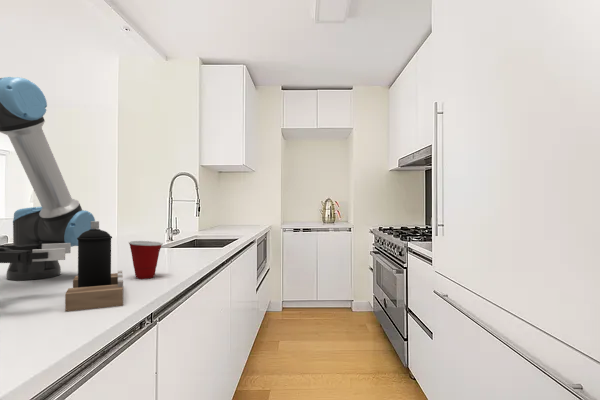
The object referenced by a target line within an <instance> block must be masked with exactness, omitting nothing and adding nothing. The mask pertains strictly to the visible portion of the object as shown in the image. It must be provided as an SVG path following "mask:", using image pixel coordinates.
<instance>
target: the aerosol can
mask: <svg viewBox="0 0 600 400" xmlns="http://www.w3.org/2000/svg"><path fill="white" fill-rule="evenodd" d="M112 239H113V236H112V235H111V234H110V233H109V232H108V231H106V230H102V229H100V221H99V220H98V221H96V220H95V221H91V229H90V230H88V231H85V232H83V233H82V234H81V235H80V236H79V237H78V238H77V240H78V246H77V249H78V250H77V276H78V288H79V287H91V286H103V285H111V274H112Z"/></svg>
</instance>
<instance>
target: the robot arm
mask: <svg viewBox="0 0 600 400" xmlns="http://www.w3.org/2000/svg"><path fill="white" fill-rule="evenodd" d="M47 107H48V102H47V99H46V96H45V94H44V93H43V91H42V89H41V88H40V87H39V86H38V85H37V84H35V83H34V82H33V81H31V80H29V79H27V78H23V77H18V76H17V77H13V76H12V77H11V76H5V77H0V133H1V134H3V135H5V136H7V137H8V138H9V140H10V142H11V145H12V147H13V149H14V152H15V153H16V155H17V158H18V159H19V161H20V164H21V166H22V169H23V170H24V172H25V174H26V176H27V179H28V180H29V183H30V185H31V188H32V189H33V191H34V194H35V196H36V197H37V200H38V202H39V204H40V206H34V207H33V206H32V207H24V208H19V209H17V210H15V211H14V214H13V220H12V237H13V238H12V239H13V240H12V241H13V243H12V244H8V245H7V244H6V245H3V244H0V264H8V268H7V269H6V279H7V280H12V281H29V280H39V279H48V278H52V277H56V276H60V275H61V271H62V270H61V268H62V267H61V265H60V262H59V261H65V260H66V254H71V247H78V240H77V238H78V237H79V236H80V235H81V234H82V233H83V232H85V231H88V230H90V229H91V221H96V218H95V216H94V214H93V213H91V212H90V211H88V210H84V209H82V206H81V203H80V202H79V200H77V199H75V198H73V197H72V196H71V193H70V191H69V189H68V186H67V184H66V181H65V179H64V177H63V175H62V173H61V170H60V168H59V165H58V163H57V160H56V158H55V156H54V153H53V151H52V149H51V147H50V144H49V142H48V139H47V137H46V135H45V132H44V130H43V125H44V124H45V123H46V121H45V118H44V116H45V114H46V113H47V109H46V108H47Z"/></svg>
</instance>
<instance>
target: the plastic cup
mask: <svg viewBox="0 0 600 400" xmlns="http://www.w3.org/2000/svg"><path fill="white" fill-rule="evenodd" d="M128 244H129V246H130V247H129V248H130V253H131V258H132V264H133V269H134V274H135V278H136V279H139V280H144V279H145V280H147V279H152V278H155V276H156V271H157V266H158V260H159V255H160V251H161V249H162V246H163V244H164V243H163V242H160V241H152V240H130V241H128Z"/></svg>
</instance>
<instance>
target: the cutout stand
mask: <svg viewBox="0 0 600 400" xmlns="http://www.w3.org/2000/svg"><path fill="white" fill-rule="evenodd" d="M64 294H65V296H64V298H65V300H64V303H65V306H64V307H65V309H64V312H71V311H72V312H74V311H75V312H76V311H84V310H92V309H94V310H95V309H102V308H112V307H123V306H124V275H123V270H117V272H113V273H112V272H111V285H103V286H91V287H79V288H78V275H75V276H74V278H73V280H72V287H69V288H67V290H66V292H65V293H64Z"/></svg>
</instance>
